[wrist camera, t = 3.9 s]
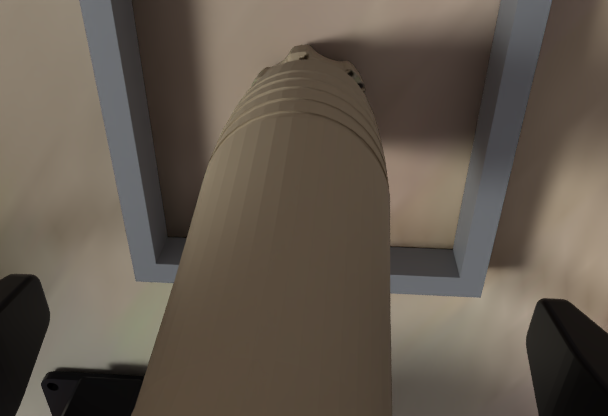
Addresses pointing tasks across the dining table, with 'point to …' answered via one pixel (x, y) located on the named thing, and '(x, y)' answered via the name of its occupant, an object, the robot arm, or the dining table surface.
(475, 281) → the frame
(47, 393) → the robot arm
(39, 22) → the dining table surface
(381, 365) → the handle
